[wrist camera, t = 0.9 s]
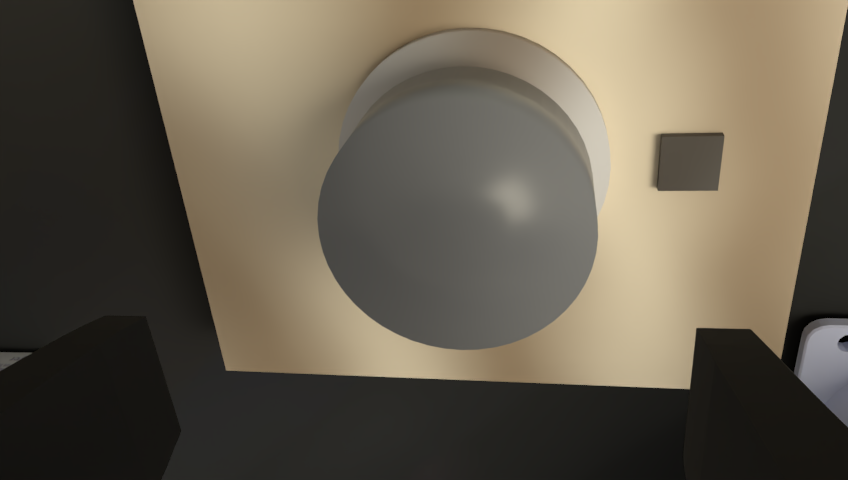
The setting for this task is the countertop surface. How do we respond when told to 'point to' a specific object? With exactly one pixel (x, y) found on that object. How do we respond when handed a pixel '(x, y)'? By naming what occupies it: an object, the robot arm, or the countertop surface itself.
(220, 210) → the button board
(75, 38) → the countertop surface
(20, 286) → the countertop surface
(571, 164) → the grey button
